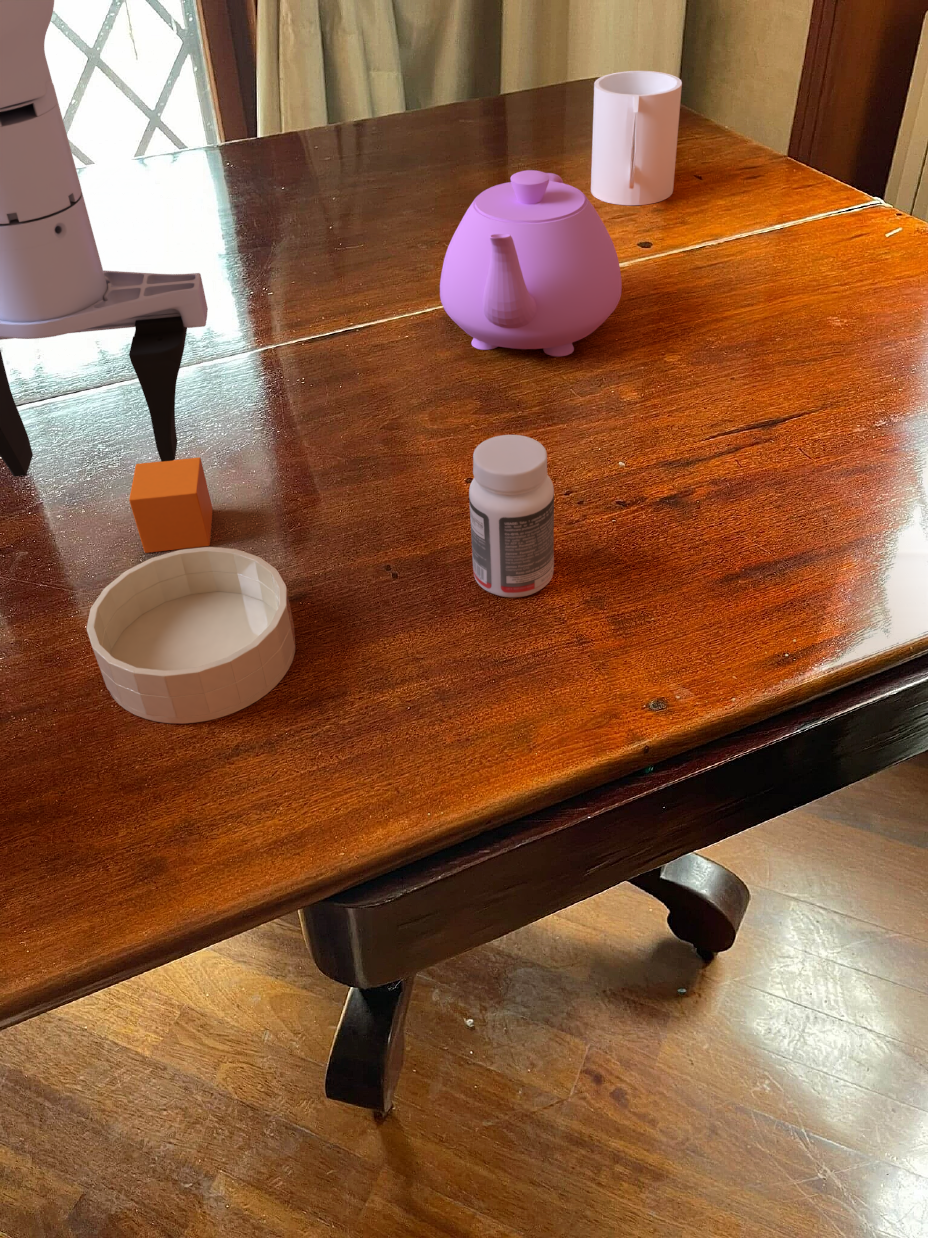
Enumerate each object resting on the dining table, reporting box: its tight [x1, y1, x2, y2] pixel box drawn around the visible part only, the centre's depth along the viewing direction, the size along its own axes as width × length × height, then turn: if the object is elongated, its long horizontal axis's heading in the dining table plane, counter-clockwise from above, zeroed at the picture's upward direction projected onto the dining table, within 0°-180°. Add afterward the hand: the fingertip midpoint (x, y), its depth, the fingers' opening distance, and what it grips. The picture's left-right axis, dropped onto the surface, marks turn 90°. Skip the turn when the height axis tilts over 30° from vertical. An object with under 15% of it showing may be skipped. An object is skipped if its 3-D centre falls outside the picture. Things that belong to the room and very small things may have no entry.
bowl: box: [86, 546, 297, 725], centre depth 59 cm, size 10×10×4 cm
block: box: [128, 456, 214, 554], centre depth 68 cm, size 4×4×4 cm
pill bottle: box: [468, 434, 555, 599], centre depth 62 cm, size 5×5×8 cm
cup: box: [590, 70, 683, 206], centre depth 105 cm, size 8×12×10 cm
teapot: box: [439, 169, 622, 357], centre depth 83 cm, size 20×14×12 cm
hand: (96, 458), depth 58 cm, fingers open, 7 cm apart
